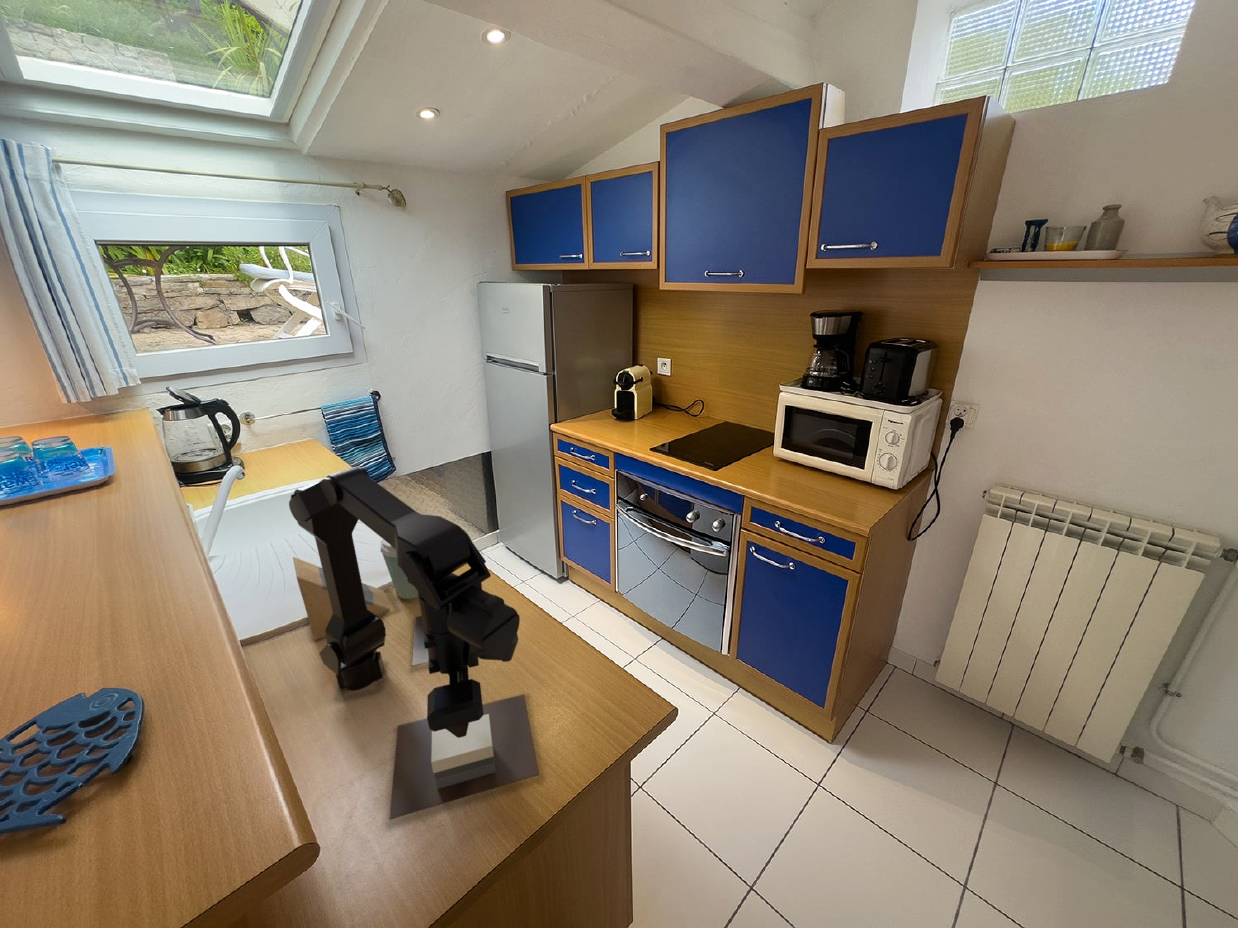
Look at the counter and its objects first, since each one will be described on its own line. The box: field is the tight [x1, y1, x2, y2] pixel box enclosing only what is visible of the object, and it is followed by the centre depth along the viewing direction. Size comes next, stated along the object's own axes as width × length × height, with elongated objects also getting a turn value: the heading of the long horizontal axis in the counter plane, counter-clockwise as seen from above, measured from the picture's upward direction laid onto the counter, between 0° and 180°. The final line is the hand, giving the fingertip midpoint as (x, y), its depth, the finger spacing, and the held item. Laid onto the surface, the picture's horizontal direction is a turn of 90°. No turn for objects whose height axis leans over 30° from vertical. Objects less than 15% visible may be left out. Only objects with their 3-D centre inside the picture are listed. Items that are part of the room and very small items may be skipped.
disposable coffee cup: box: [380, 538, 419, 600], centre depth 108 cm, size 11×11×15 cm
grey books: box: [434, 736, 495, 789], centre depth 71 cm, size 8×4×4 cm, turn 109°
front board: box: [389, 694, 540, 820], centre depth 75 cm, size 20×15×1 cm
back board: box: [411, 615, 429, 667], centre depth 98 cm, size 15×14×1 cm
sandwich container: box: [292, 556, 391, 641], centre depth 101 cm, size 9×15×15 cm, turn 126°
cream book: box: [431, 714, 493, 773], centre depth 70 cm, size 8×6×2 cm
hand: (460, 707), depth 69 cm, fingers open, 9 cm apart
